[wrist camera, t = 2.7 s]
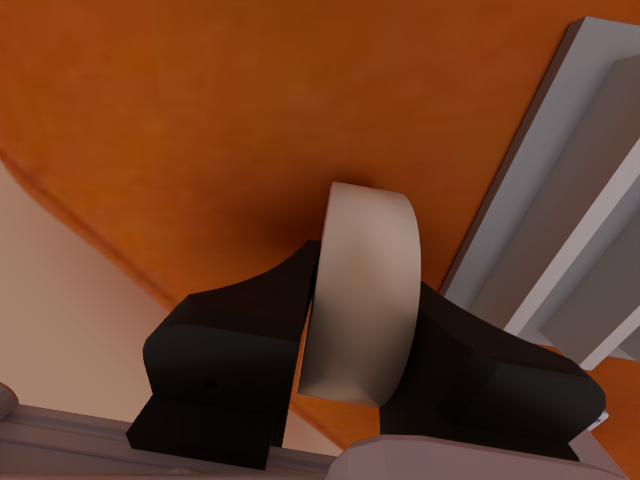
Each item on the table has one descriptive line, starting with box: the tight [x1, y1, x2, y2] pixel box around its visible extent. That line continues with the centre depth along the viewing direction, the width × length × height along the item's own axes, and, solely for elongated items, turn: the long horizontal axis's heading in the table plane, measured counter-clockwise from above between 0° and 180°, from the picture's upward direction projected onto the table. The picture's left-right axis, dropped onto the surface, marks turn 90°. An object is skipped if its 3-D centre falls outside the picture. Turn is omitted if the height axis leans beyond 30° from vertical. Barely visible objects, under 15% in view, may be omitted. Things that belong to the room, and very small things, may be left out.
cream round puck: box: [297, 181, 421, 407], centre depth 9 cm, size 8×2×8 cm, turn 171°
